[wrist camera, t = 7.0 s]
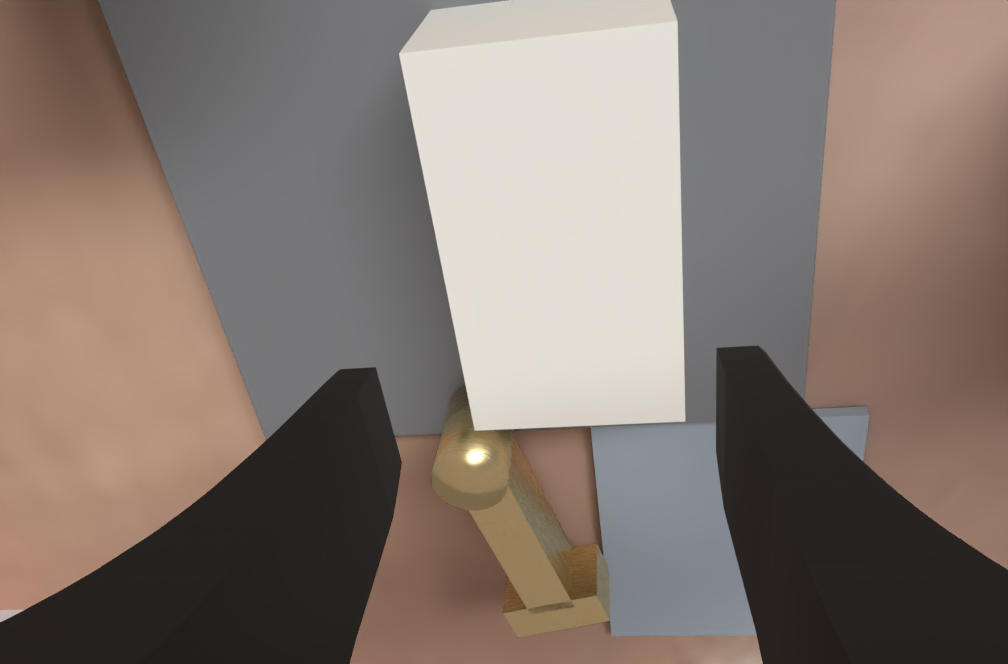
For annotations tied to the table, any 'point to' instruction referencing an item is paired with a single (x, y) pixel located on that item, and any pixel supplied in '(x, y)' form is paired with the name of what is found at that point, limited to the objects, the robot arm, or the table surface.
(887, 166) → the table surface
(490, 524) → the brass T-key
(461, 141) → the white rectangular block
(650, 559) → the mat
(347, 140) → the base plate
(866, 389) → the table surface
